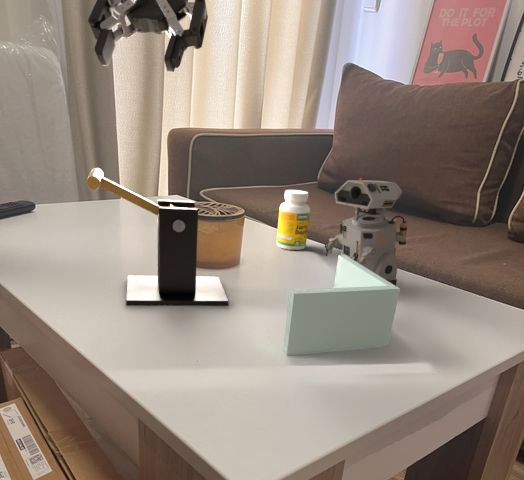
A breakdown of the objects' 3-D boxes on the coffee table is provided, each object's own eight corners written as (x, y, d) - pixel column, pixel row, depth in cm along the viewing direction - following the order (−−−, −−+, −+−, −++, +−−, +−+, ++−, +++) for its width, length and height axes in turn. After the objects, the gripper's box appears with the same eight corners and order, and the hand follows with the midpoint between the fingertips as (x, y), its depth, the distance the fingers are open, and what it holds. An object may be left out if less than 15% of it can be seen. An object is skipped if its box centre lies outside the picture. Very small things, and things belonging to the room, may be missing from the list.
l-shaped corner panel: (335, 311, 67) (344, 254, 64) (386, 353, 57) (400, 288, 54) (247, 317, 63) (252, 256, 60) (285, 363, 53) (294, 293, 50)
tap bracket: (126, 312, 61) (123, 210, 56) (127, 286, 69) (125, 194, 64) (227, 312, 64) (234, 215, 59) (218, 287, 72) (222, 199, 67)
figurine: (306, 277, 79) (319, 173, 72) (362, 269, 85) (380, 173, 78) (345, 297, 72) (363, 185, 66) (403, 288, 78) (426, 184, 72)
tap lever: (82, 190, 56) (91, 169, 55) (87, 180, 61) (95, 161, 60) (185, 240, 60) (194, 222, 60) (181, 227, 66) (190, 210, 65)
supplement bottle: (287, 240, 97) (292, 187, 93) (311, 247, 95) (318, 193, 90) (269, 245, 93) (275, 190, 89) (294, 252, 91) (301, 195, 86)
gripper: (105, -65, 66) (67, 31, 61) (214, -58, 65) (185, 41, 60) (123, -7, 73) (91, 82, 68) (222, 0, 72) (197, 93, 67)
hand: (135, 63), depth 64 cm, fingers open, 8 cm apart
